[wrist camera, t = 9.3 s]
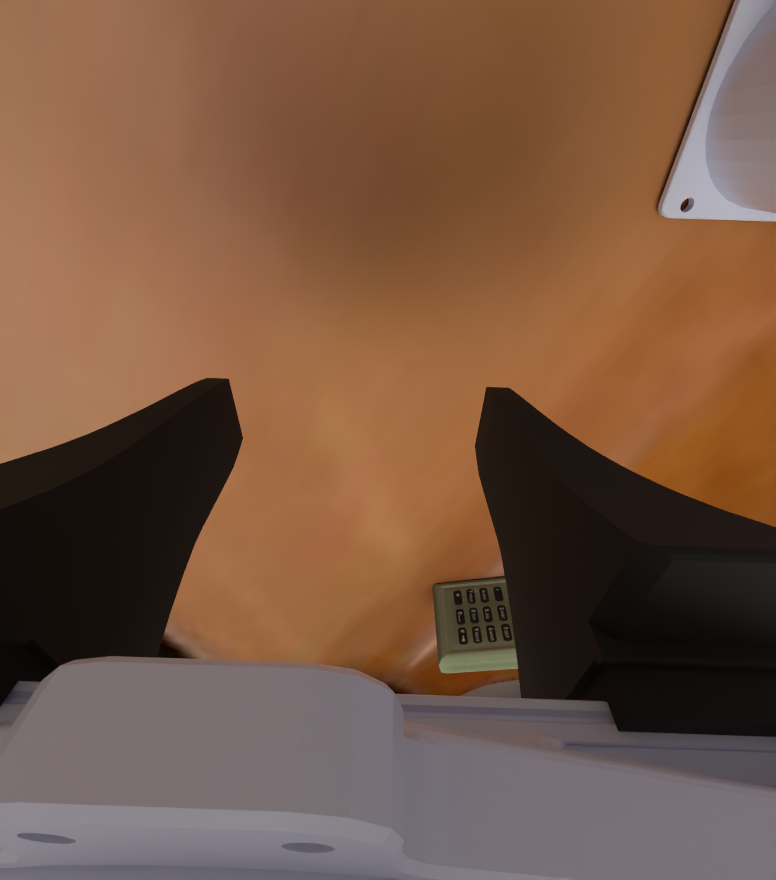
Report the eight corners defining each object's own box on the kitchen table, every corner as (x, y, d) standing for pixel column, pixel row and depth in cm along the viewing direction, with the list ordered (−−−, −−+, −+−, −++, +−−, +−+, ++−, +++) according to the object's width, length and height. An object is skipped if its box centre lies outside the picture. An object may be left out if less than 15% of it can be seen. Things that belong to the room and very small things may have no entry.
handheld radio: (430, 577, 34) (754, 544, 30) (435, 597, 36) (740, 568, 32) (437, 660, 29) (828, 631, 25) (442, 678, 31) (806, 654, 27)
